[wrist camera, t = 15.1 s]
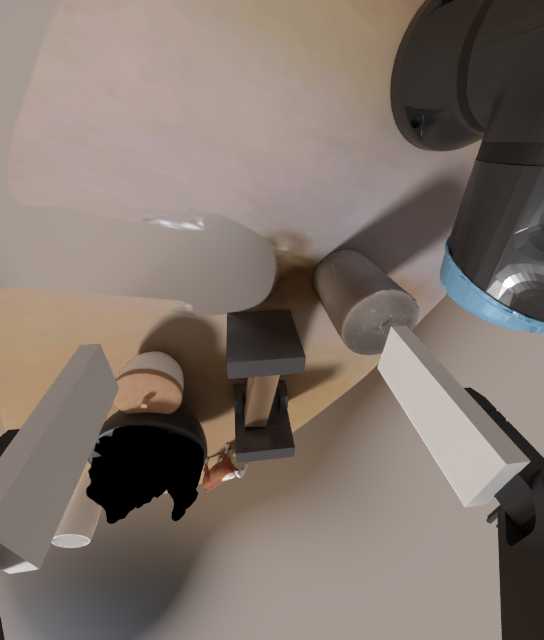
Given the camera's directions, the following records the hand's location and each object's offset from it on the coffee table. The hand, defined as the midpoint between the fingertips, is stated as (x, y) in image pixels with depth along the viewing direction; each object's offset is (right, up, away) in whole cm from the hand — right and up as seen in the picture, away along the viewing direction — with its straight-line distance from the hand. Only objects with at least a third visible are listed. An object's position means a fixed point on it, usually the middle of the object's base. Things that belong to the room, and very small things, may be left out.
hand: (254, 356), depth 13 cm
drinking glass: (-39, -32, +51) cm, 72 cm away
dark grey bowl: (-22, -17, +44) cm, 52 cm away
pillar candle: (+12, +9, +31) cm, 35 cm away
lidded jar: (-20, -6, +36) cm, 42 cm away
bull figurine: (-11, -31, +55) cm, 64 cm away
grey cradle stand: (-2, -7, +39) cm, 40 cm away
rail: (-1, -8, +38) cm, 39 cm away
